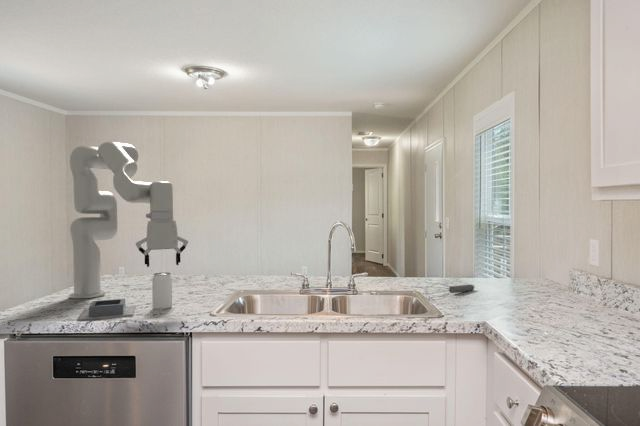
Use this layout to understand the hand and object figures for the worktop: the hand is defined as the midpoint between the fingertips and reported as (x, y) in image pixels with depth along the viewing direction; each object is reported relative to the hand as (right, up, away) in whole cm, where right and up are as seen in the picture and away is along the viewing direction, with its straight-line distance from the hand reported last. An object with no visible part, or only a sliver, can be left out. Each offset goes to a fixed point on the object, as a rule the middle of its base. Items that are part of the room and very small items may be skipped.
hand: (162, 265), depth 149 cm
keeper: (-15, -15, -8) cm, 23 cm away
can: (0, -15, 0) cm, 15 cm away
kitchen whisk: (+107, -15, +20) cm, 110 cm away
